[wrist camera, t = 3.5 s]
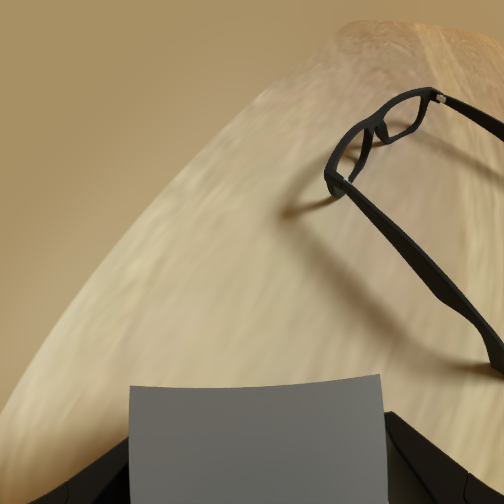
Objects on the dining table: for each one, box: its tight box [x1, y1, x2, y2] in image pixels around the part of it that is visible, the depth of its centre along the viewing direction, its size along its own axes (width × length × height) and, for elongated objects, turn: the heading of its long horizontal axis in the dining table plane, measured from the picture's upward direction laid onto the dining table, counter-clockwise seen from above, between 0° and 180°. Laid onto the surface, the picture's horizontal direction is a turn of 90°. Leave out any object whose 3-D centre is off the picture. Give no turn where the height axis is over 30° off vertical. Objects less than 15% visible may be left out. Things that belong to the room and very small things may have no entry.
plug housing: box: [129, 374, 388, 504], centre depth 9 cm, size 5×5×10 cm
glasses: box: [324, 87, 504, 374], centre depth 17 cm, size 16×18×5 cm
